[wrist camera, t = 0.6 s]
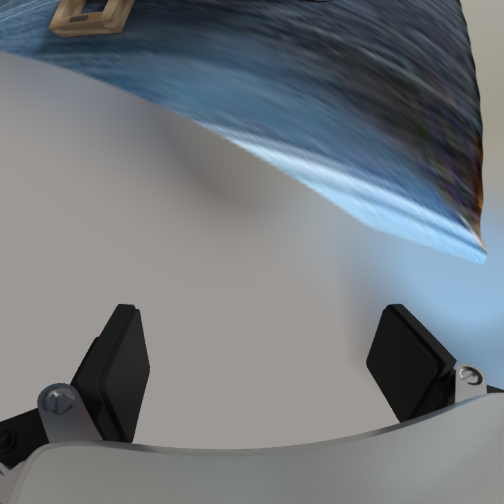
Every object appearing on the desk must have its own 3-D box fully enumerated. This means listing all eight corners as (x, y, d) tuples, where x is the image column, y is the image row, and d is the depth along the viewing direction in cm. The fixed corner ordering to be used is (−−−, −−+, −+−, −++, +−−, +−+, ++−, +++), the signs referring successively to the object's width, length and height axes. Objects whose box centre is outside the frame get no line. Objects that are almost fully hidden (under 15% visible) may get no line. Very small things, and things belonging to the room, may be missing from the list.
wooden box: (87, -14, 22) (75, -27, 17) (145, -21, 24) (137, -37, 19) (63, 38, 25) (47, 28, 21) (121, 32, 27) (109, 19, 22)
